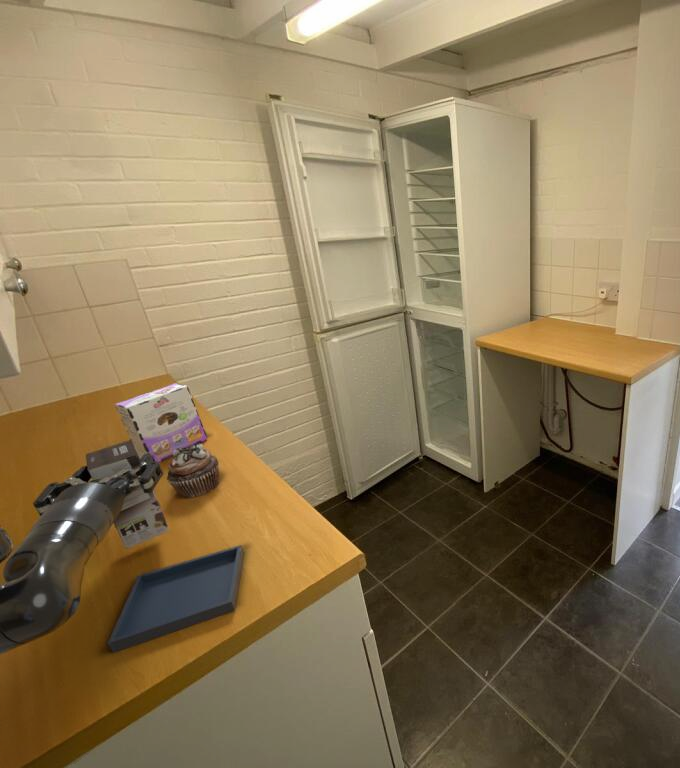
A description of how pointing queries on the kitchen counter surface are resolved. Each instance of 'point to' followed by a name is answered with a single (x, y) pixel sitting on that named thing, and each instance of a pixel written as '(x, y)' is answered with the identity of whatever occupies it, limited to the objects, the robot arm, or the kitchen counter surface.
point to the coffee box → (139, 509)
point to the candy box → (162, 421)
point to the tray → (179, 597)
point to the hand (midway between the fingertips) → (119, 463)
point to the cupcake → (193, 471)
